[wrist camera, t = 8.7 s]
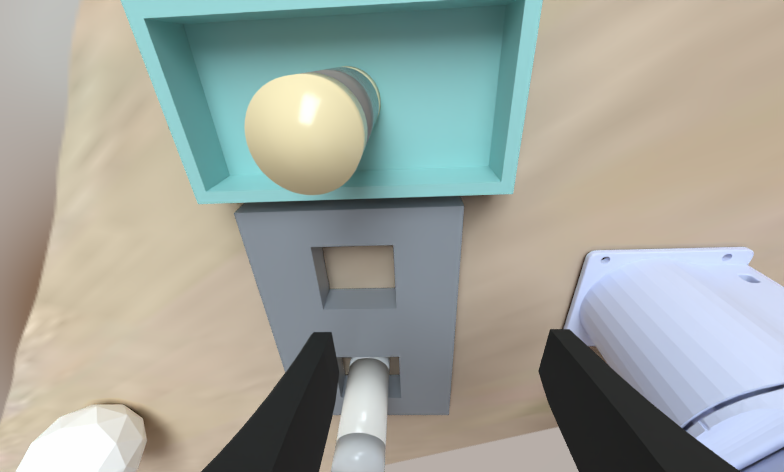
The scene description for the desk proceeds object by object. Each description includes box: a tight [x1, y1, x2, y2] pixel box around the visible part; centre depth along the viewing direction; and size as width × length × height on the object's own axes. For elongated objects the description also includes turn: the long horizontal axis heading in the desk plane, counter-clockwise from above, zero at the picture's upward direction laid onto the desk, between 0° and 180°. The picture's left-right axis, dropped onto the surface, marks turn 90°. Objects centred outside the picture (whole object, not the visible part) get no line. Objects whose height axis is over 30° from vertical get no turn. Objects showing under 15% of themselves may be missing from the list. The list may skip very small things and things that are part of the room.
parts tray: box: [121, 0, 543, 204], centre depth 14 cm, size 15×8×3 cm, turn 93°
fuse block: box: [234, 196, 464, 415], centre depth 22 cm, size 12×18×2 cm, turn 3°
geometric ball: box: [16, 404, 147, 472], centre depth 26 cm, size 8×8×8 cm
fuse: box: [331, 357, 390, 472], centre depth 21 cm, size 3×3×8 cm
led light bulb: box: [244, 66, 381, 195], centre depth 12 cm, size 3×3×8 cm
